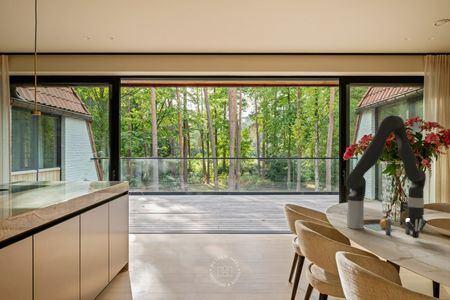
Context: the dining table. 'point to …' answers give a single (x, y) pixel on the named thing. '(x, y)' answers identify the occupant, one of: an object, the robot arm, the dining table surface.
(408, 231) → the post
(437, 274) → the dining table surface
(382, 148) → the robot arm
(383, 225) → the ball
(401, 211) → the coffee box
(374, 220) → the stopper
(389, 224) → the post
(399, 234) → the dining table surface
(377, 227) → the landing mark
